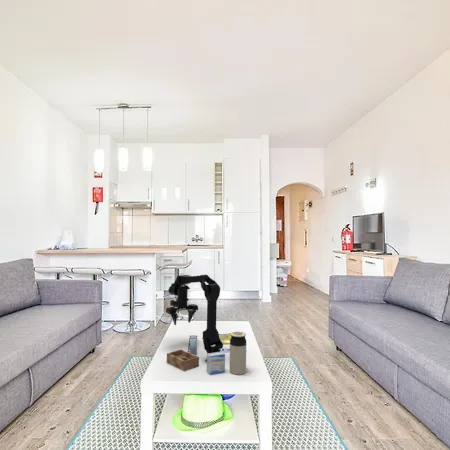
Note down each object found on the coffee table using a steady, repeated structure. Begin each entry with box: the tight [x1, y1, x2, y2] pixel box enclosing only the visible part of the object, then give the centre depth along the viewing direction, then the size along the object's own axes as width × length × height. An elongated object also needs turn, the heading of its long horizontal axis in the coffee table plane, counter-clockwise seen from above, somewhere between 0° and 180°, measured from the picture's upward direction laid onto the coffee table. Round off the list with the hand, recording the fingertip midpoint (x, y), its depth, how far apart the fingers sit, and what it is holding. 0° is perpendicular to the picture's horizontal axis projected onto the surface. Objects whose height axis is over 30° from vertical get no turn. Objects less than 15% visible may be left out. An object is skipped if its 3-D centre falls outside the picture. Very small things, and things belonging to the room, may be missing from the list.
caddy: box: [166, 348, 200, 372], centre depth 158 cm, size 15×9×4 cm, turn 46°
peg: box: [189, 337, 198, 356], centre depth 172 cm, size 4×4×8 cm
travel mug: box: [229, 330, 247, 375], centre depth 151 cm, size 8×8×18 cm
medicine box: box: [206, 351, 226, 376], centre depth 150 cm, size 8×4×9 cm, turn 113°
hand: (182, 323), depth 182 cm, fingers open, 9 cm apart
